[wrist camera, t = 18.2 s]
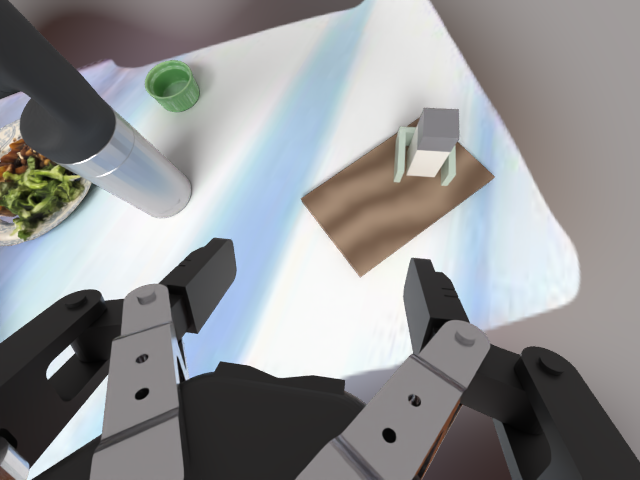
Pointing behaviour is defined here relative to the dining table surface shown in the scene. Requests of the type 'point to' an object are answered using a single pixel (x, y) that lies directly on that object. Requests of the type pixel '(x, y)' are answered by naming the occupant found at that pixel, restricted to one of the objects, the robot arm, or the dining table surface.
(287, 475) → the robot arm
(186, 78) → the ramekin
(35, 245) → the dining table surface
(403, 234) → the board
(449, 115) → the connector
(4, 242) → the plate of food
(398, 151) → the end holder
